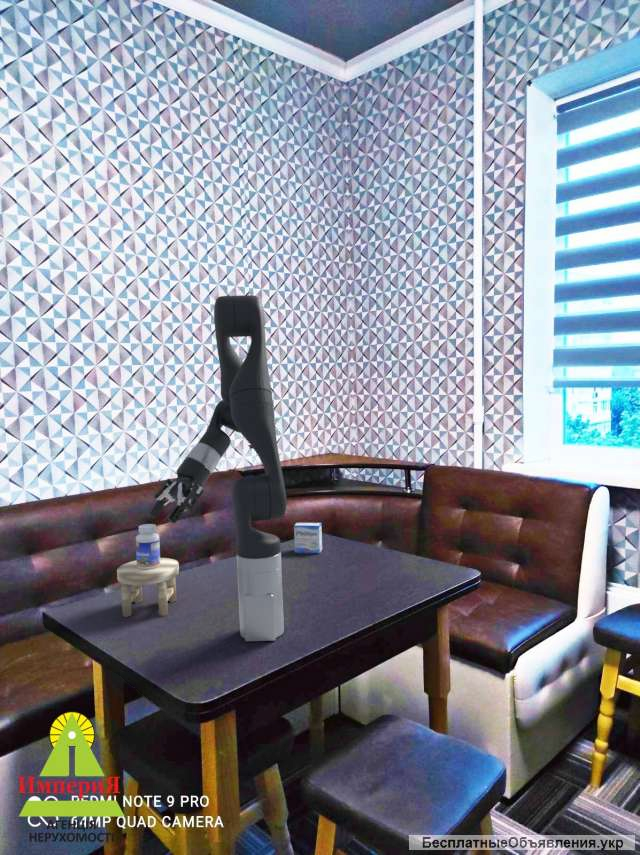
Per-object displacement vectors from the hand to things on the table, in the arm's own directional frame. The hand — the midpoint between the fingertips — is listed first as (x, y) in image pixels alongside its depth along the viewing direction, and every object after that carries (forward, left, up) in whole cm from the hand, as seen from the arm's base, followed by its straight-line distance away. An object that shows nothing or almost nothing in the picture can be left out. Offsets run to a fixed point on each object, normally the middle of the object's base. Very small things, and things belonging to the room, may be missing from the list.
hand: (161, 518), depth 144 cm
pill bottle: (-3, +3, -11) cm, 12 cm away
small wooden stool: (-3, +3, -21) cm, 21 cm away
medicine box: (+39, -34, -21) cm, 56 cm away
